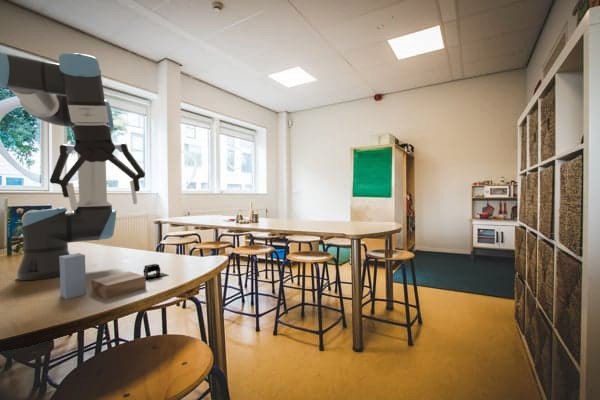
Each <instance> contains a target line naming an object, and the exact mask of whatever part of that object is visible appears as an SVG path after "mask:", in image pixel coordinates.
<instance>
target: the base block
mask: <svg viewBox="0 0 600 400" xmlns="http://www.w3.org/2000/svg"><path fill="white" fill-rule="evenodd" d="M146 282H147V281H146V276H144V274H138V273H136V272H132V271H125V272H121V273H116V274H112V275H108V276H106V275H105V276H103V277H102V276H101V277H99V278H98V277H97V278H94V279H91V293H92V294H94V295H96V296H99V297H101V298H103V299H106V300H110V299H113V298H118V297H122V296H125V295H129V294H131V293H132V294H133V293H135V292H139V291H142V290H147V289H146V288H147V284H146Z"/></svg>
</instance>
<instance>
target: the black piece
mask: <svg viewBox="0 0 600 400" xmlns="http://www.w3.org/2000/svg"><path fill="white" fill-rule="evenodd" d="M152 272H154V273H152ZM143 276H146V282H148V281H150V280H157V279H162V278H164V277H165V278H166V277H169V274H168V273H167V274H166V273H165V274H164V272H161V267H160V264H158V263H152V264H147V265H144V268H143Z"/></svg>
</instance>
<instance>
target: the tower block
mask: <svg viewBox="0 0 600 400" xmlns="http://www.w3.org/2000/svg"><path fill="white" fill-rule="evenodd" d="M69 254H70V253H69ZM59 260H60V276H59V283H60V285H59V286H60V297H62V298H64V299H66V300H67V299H71V298H76V297H79V296H83V295H87V279H86V278H87V275H86V273H87V272H86V255H85V254H83V253H80V252H79V253H72V254H70V255H64V256H59Z"/></svg>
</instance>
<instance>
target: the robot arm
mask: <svg viewBox="0 0 600 400" xmlns="http://www.w3.org/2000/svg"><path fill="white" fill-rule="evenodd" d="M102 79H103V78H102V71H101V68H100V64H99V60H98V59H97V58H96V57H95V56H93V55H89V54H83V53H74V52H73V53H72V52H63V53H62V52H61V53H59V55H58V63H54V62H50V61H44V60H39V59H34V58H29V57H25V56H24V57H23V56H19V55H14V54H10V53H6V52H2V51H1V52H0V88H1V89H2V88H3V89H9V90H10V91H11V92H12V94H14V95H15V97H17V98H18V99H19V102H20V103H19V104H20V106H21V107H22V108H23V109H24V111H26V112H27V114H30V115H31V116H32V117H34V118H36V119H38V120H41V121H43V122H45V123H49V124H52V125H55V126H61V127H70V129H71V133H72V134H73V137H74V144H73V145H72V144H67V143H63V144H61V145H59V156H58V158H57V161H56V164H55V166H54V169H53V170H52V173H51V176H50V179H49V183H50V184H55V185H56V184H57V185H59V186H60V187H61V190H62V195H63V198H68V200H69V204H70V207H71V210H68V208H67V207H66V206H64V207H55V208H48V209H47V208H46V209H40V210H32V211H28V212H25V213H24V214H23V215H22V225H21V228H22V239H23V240H22V241H23V243H22V244H23V257H22V258H21V262H20V264H19V267H18V268H17V269H18V270H17V274H16V276H17V277H16V278H17V280H19V281H36V280H38V281H39V280H45V279H51V278H56V277H60V260H59V256H64V255H70V252H69V244H68V243H80V242H90V241H93V242H94V241H103V240H109V239H111V238H112V237H113V236H114V233H115V228H116V220H117V209H115V208H113V206H112V204H111V202H109V201H108V196H107V195H108V193H107V191H108V190H107V187H108V186H107V161H109V163H111V164H113V165H114V166H115V167H117V168H118V169H119V170H120V171H122V172H123V173H124V174H125V175H127V177H129V178H130V180H129V183H130V184H129V185H130V190H131V197H132V202H133V205H137V203H138V198H137V193H136V192H139V191H140V188H141V187H140V183H139V181H140V180H141V179H143V178H145V177H146V172H145V171H144V170H143V168H142V167H141V166H140V164H139V163H138V162H137V160H136V159H135V157H134V156H133V155H132V154H131V151H129V148H128V144H127V143H126V142H122V143H120V144H114V143H113V138H112V133H111V132H114V129H115V127H114V119H113V113H112V108H111V104H110V103H109V101H108V100H107V99H105V93H104V86H103V80H102ZM116 150H118V152H120V153H122V154H123V156H124V157H125V158H126V160H127V161H128V163H130V165H131V167H133V169H134V170H135V172H137V173H135V172H134V171H133V170H132V169H130V168H129V167H128V166H127V165H126V164H125V163H123V162H122V161H121V160H120V159H118V157H117V156H116V155H114V154H113V153H114V152H115V151H116ZM73 151H75V153H77V160H76V162H75V163H74V164H73V165H72V167H70V169H69V170H68V172H67V173H66V174H65V175H64V176H63V177H61V175H62V173H63V170H64V167H65V165H66V163H67V161H68V158H69V155H70V154H72V152H73ZM77 172H78V173H77ZM76 173H77V175H78V176H77V177H78V179H77V182H78V200H77V196H76V193H75V188H74V184H73V182H70V181H71V180H72V178H73V177H74V175H75V174H76Z"/></svg>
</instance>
